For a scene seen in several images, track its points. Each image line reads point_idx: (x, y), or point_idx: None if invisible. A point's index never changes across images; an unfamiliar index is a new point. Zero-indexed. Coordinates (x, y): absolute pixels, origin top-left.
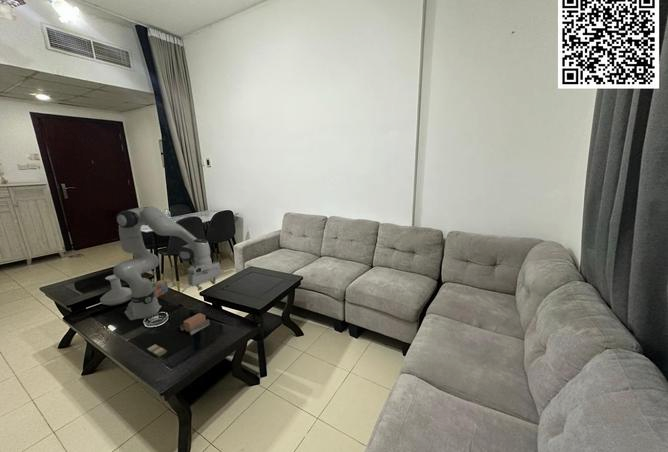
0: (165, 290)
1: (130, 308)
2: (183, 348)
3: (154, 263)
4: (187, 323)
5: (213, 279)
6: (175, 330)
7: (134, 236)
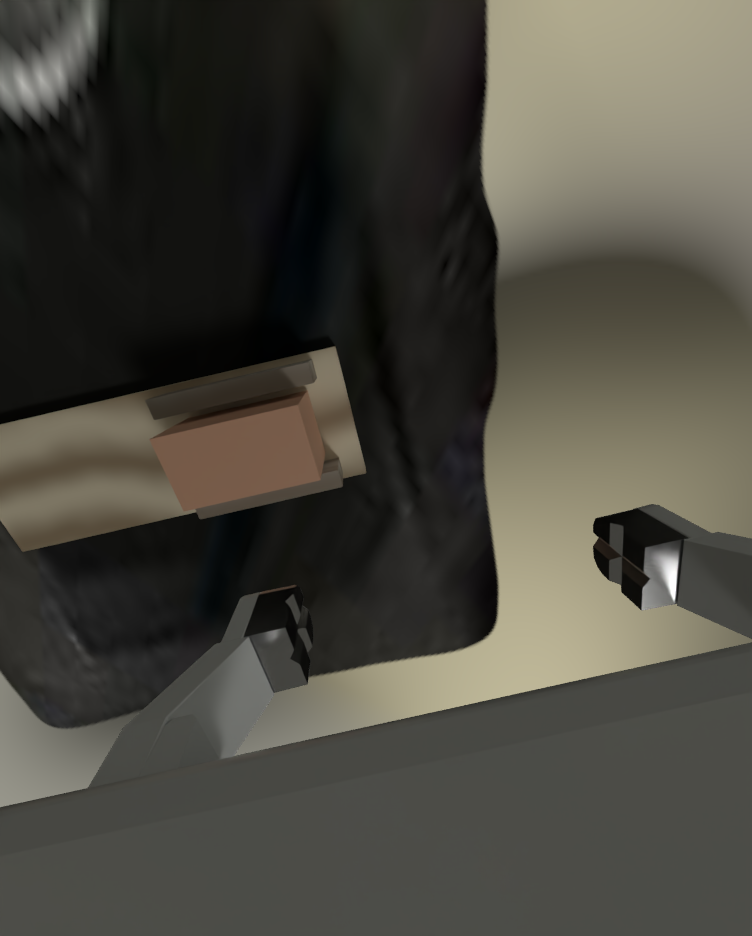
0: None
1: None
2: (156, 564)
3: None
4: (175, 487)
5: (743, 572)
6: (137, 332)
7: None
